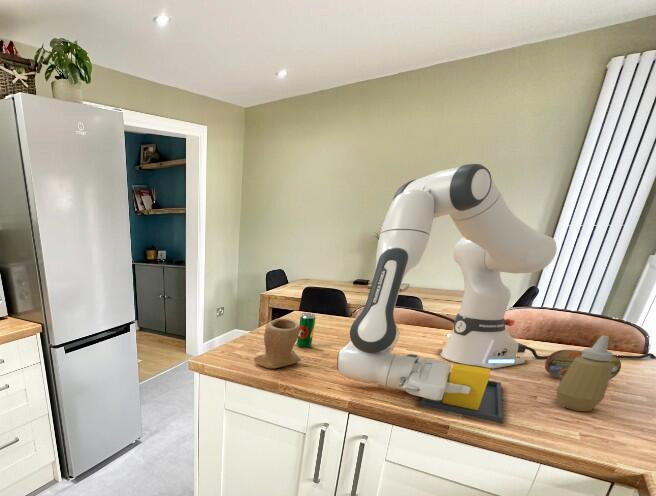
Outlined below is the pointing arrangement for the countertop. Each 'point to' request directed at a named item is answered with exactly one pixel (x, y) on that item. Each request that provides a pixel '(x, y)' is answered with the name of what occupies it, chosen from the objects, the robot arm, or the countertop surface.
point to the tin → (564, 358)
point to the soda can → (306, 330)
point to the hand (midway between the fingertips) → (470, 385)
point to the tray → (487, 409)
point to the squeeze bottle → (586, 378)
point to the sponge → (467, 376)
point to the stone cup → (279, 344)
